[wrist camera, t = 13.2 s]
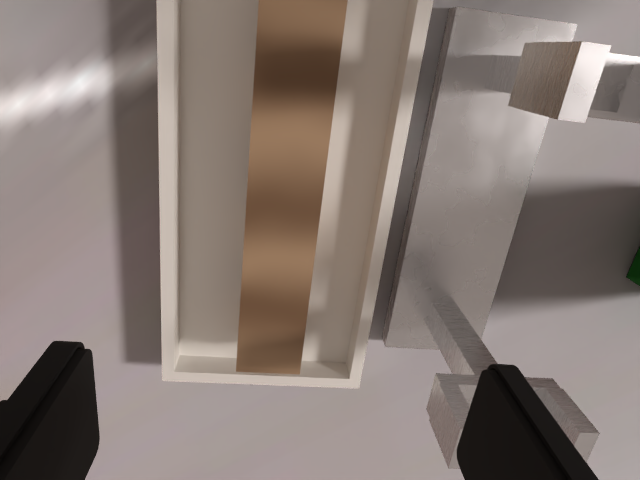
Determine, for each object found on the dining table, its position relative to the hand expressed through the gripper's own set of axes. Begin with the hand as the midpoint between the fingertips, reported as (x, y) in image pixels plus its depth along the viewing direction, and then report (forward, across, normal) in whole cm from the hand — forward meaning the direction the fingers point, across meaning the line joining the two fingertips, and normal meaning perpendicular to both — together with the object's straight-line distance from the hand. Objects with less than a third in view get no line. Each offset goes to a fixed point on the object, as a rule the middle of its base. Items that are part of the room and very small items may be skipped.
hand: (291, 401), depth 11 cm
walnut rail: (+19, 0, 0) cm, 19 cm away
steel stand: (+19, -12, 0) cm, 23 cm away
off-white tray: (+19, 0, 0) cm, 19 cm away
